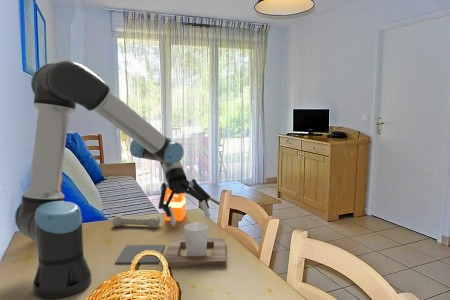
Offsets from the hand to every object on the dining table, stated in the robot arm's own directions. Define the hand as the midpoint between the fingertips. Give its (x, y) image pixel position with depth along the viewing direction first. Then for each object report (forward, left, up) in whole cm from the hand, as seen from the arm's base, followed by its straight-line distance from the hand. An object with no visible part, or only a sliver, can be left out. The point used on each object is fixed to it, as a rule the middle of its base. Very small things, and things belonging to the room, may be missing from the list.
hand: (192, 220), depth 126 cm
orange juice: (+34, +10, -10) cm, 37 cm away
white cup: (-6, -2, -10) cm, 12 cm away
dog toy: (+23, +25, -11) cm, 36 cm away
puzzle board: (-6, -2, -10) cm, 12 cm away
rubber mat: (-6, +17, -10) cm, 21 cm away
